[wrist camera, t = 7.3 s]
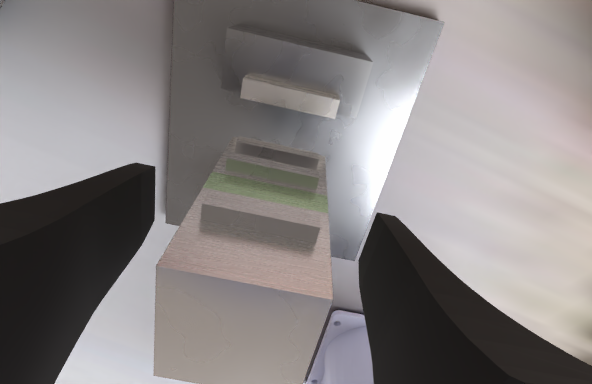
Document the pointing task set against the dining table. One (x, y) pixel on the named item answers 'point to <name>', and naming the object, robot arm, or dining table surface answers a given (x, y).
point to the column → (247, 271)
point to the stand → (295, 94)
